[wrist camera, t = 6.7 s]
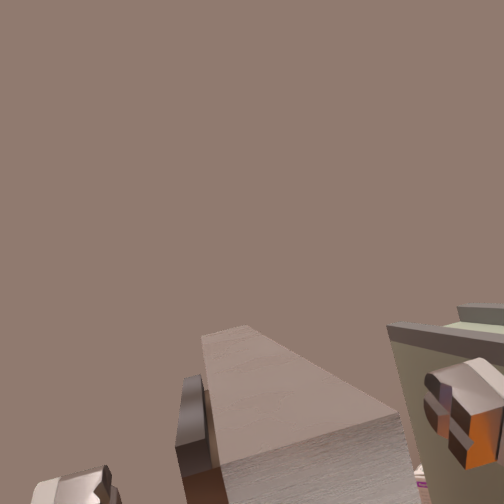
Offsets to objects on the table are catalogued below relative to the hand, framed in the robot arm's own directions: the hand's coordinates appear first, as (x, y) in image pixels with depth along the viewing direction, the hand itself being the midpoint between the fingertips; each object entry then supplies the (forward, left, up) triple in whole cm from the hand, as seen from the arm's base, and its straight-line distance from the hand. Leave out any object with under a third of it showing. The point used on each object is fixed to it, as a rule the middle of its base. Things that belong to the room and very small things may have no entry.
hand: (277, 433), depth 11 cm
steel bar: (-4, -6, -2) cm, 7 cm away
